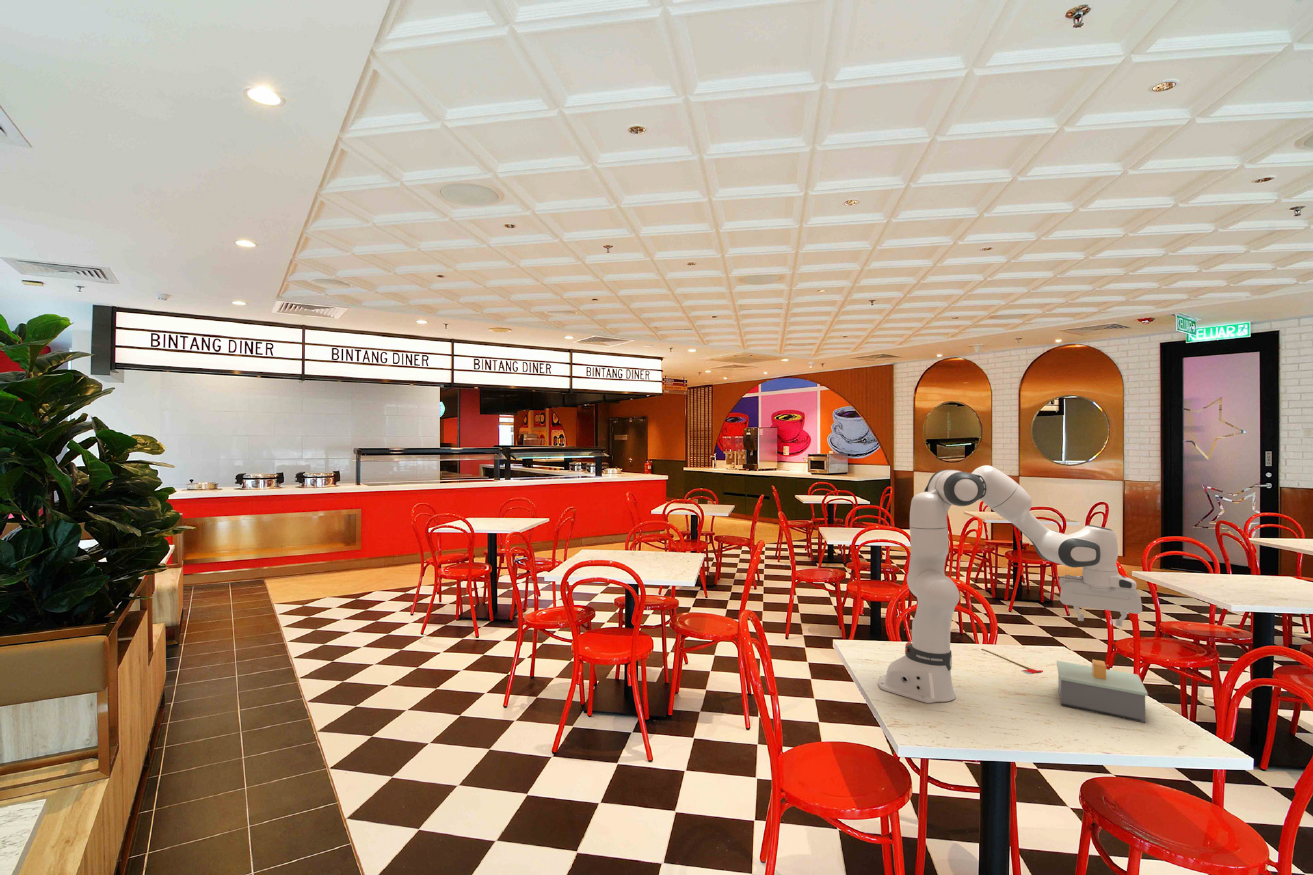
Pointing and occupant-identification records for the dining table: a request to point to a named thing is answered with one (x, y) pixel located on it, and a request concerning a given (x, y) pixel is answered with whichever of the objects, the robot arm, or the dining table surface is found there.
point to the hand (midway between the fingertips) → (1099, 623)
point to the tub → (1102, 700)
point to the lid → (1101, 677)
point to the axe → (1028, 671)
